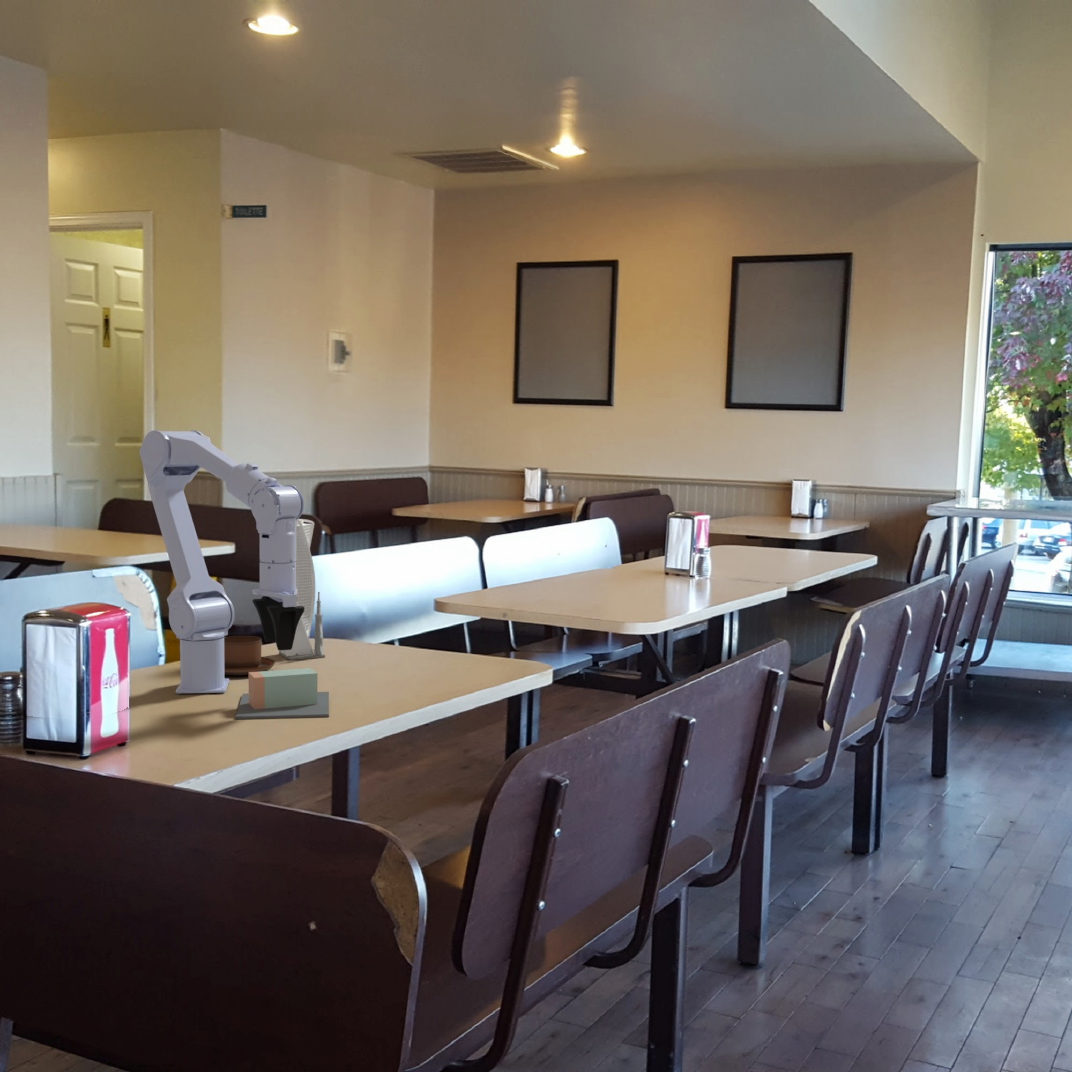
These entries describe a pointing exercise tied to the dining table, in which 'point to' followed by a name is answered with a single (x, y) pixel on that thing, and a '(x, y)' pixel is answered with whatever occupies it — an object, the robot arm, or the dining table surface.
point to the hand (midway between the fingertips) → (278, 645)
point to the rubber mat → (285, 709)
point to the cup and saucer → (244, 655)
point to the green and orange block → (282, 688)
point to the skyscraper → (305, 598)
